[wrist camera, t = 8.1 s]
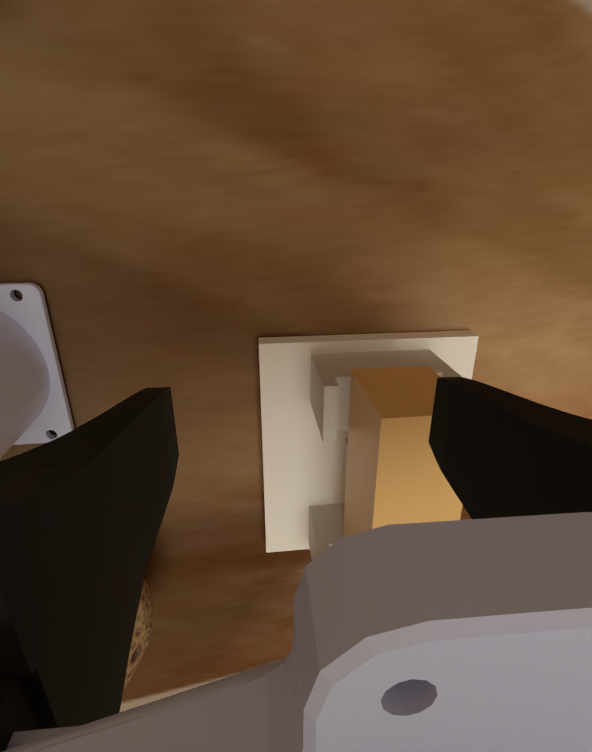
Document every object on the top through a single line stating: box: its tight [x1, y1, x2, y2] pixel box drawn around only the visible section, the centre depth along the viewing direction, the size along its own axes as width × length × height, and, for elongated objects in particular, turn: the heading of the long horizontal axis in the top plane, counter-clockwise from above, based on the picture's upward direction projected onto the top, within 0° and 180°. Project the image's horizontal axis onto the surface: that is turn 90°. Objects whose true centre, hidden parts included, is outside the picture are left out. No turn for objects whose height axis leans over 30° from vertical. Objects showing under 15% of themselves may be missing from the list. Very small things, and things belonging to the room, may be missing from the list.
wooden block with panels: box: [343, 366, 462, 537], centre depth 19 cm, size 3×12×4 cm, turn 0°
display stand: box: [258, 330, 479, 561], centre depth 22 cm, size 11×13×5 cm
